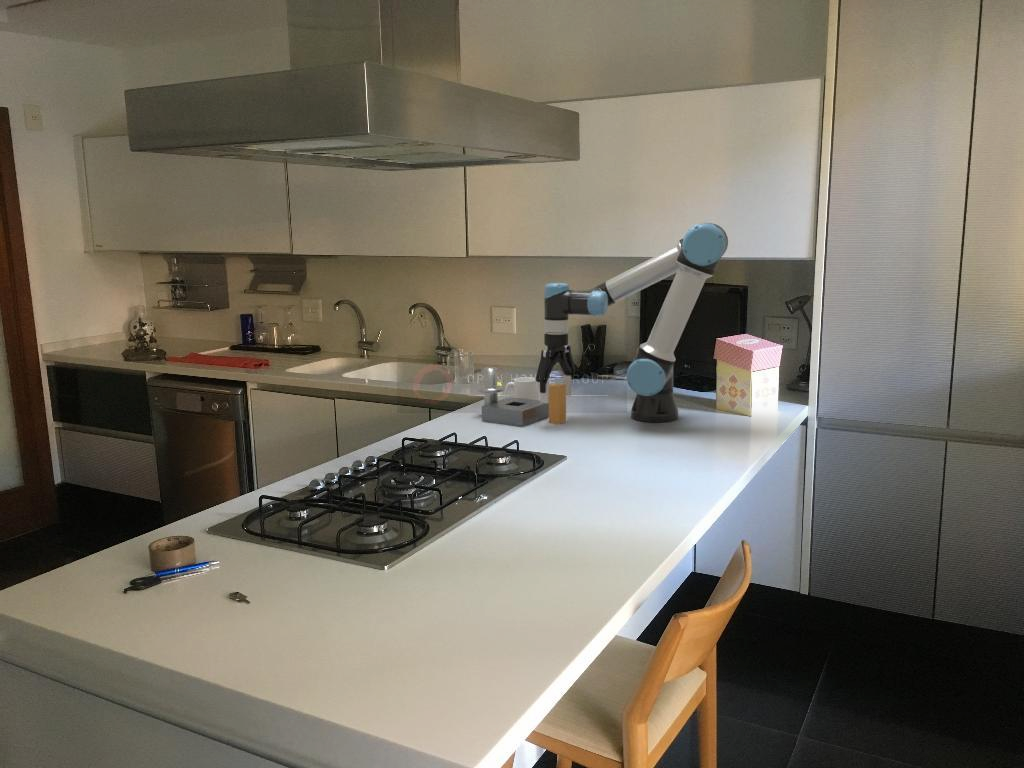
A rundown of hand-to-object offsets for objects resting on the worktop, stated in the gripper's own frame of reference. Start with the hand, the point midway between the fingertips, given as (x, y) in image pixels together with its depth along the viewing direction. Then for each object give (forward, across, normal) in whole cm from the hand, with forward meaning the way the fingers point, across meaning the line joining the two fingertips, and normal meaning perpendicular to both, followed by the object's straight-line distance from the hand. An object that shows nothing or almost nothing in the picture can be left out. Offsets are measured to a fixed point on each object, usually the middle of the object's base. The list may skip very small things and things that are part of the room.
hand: (555, 399), depth 266 cm
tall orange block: (+8, 0, +1) cm, 8 cm away
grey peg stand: (+8, +3, -17) cm, 18 cm away
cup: (+8, -12, -21) cm, 26 cm away
